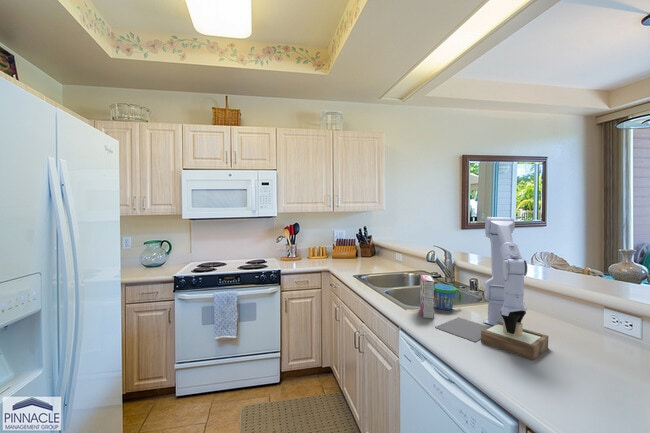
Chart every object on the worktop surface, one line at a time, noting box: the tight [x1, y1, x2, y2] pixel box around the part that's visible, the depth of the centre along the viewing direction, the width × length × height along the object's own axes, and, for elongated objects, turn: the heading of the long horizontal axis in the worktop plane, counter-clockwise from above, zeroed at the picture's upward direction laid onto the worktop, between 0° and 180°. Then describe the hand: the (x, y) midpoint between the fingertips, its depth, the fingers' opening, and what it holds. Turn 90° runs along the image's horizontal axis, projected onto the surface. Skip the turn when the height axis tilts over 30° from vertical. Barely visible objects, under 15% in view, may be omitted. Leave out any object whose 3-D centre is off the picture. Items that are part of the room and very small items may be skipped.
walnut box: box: [480, 321, 549, 361], centre depth 105 cm, size 14×16×4 cm
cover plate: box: [487, 321, 540, 344], centre depth 105 cm, size 10×14×5 cm
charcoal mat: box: [434, 316, 492, 343], centre depth 118 cm, size 18×16×1 cm
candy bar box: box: [419, 274, 436, 319], centre depth 134 cm, size 11×5×16 cm, turn 168°
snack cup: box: [434, 283, 463, 311], centre depth 143 cm, size 16×10×10 cm
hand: (512, 331), depth 105 cm, fingers closed on cover plate, 3 cm apart
